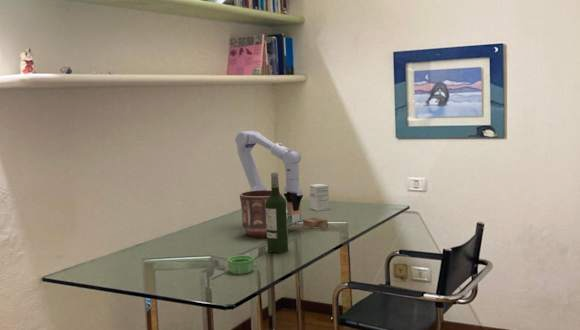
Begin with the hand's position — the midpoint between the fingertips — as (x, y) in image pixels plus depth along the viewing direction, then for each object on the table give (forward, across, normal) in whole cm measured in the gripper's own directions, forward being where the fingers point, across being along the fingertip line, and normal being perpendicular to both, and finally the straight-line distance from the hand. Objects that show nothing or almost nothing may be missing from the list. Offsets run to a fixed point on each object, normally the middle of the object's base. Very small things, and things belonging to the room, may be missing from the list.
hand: (293, 209), depth 269 cm
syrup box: (+6, +18, -9) cm, 21 cm away
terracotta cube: (+2, 0, 0) cm, 2 cm away
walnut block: (+9, +1, -11) cm, 14 cm away
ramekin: (+9, -48, +41) cm, 64 cm away
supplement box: (+9, +37, -30) cm, 49 cm away
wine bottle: (+9, -30, +20) cm, 37 cm away
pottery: (+9, -1, +15) cm, 18 cm away
